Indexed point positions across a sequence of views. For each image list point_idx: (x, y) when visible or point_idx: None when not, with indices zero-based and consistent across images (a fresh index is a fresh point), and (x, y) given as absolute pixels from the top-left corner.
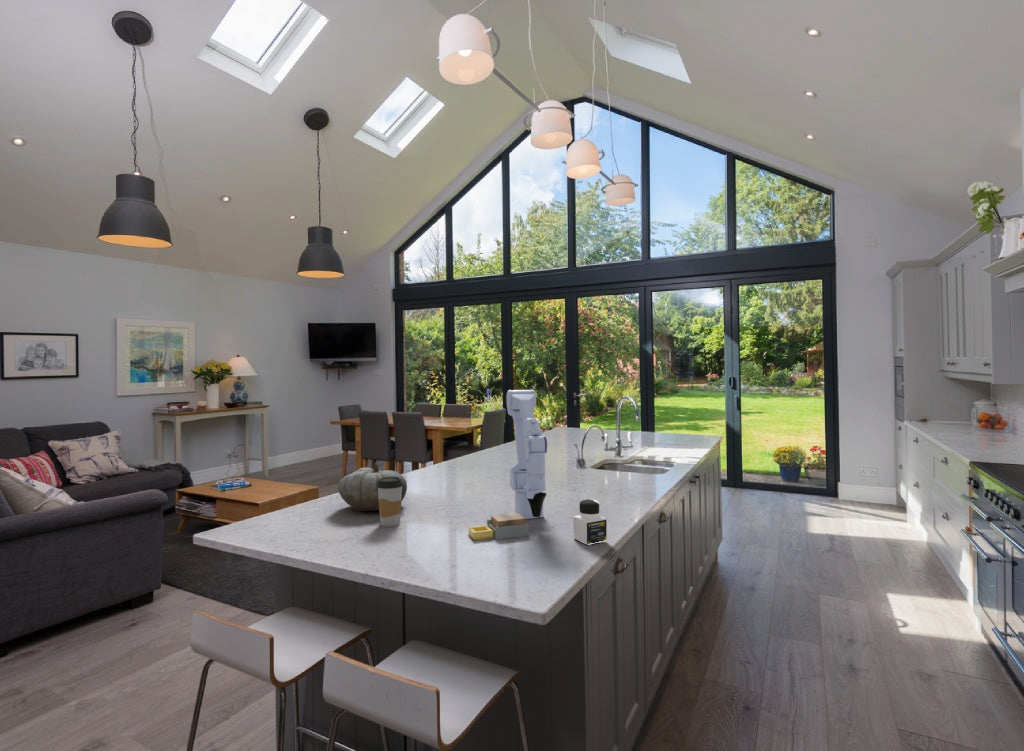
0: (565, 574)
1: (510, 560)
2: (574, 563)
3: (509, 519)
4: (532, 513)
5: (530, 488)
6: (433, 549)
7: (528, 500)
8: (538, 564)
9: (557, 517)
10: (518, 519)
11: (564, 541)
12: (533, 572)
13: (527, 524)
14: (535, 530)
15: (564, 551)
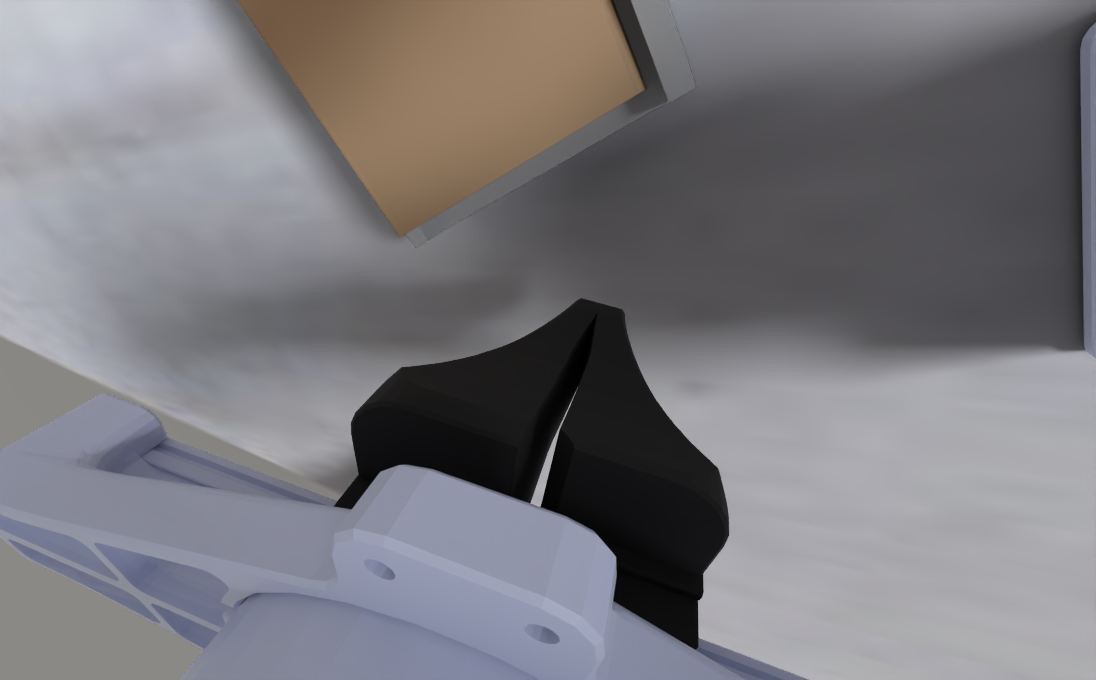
0: (116, 364)
1: (50, 140)
2: (211, 402)
3: (280, 22)
4: (568, 310)
5: (223, 627)
6: None
7: (445, 368)
8: (115, 280)
9: (1024, 454)
10: (345, 152)
11: None
12: (44, 261)
13: (412, 236)
14: (604, 263)
15: (298, 389)
